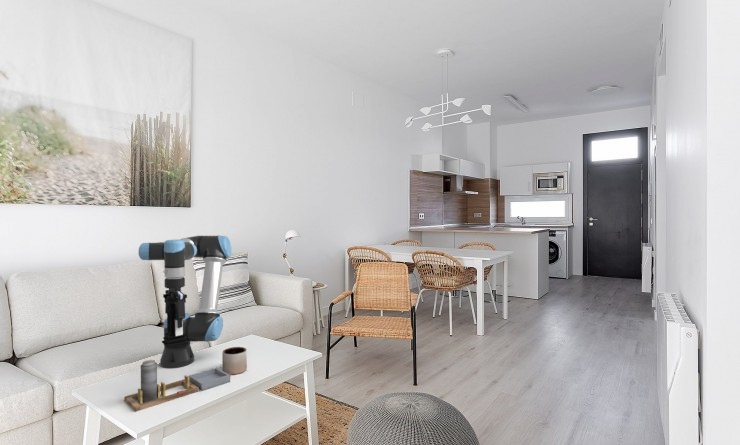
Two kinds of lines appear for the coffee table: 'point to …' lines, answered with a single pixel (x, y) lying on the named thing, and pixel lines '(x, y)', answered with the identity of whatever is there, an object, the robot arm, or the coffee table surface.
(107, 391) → the coffee table surface
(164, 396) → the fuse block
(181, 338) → the chess piece
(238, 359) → the planter
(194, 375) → the tray
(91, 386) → the coffee table surface
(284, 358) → the coffee table surface
